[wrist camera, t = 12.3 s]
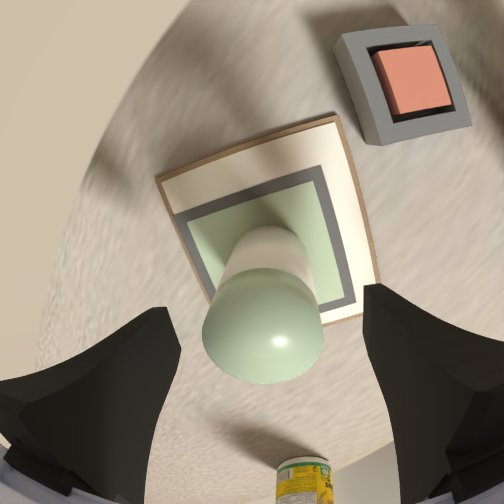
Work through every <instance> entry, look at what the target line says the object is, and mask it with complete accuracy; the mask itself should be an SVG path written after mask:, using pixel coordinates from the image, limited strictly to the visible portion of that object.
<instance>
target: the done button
mask: <svg viewBox="0 0 504 504" xmlns="http://www.w3.org/2000/svg"><path fill="white" fill-rule="evenodd" d="M370 59H371V61H372V64H373V66H374V69H375V71H376V74H377V77H378V79H379V82H380V85H381V88H382V90H383V93H384V96H385V99H386V102H387V105H388V108H389V111H390V115H396V114H403V113H407V112H412V111H417V110H423V109H428V108H433V107H439V106H445V105H451V101H450V97H449V94H448V91H447V88H446V85H445V82H444V79H443V76H442V73H441V70H440V67H439V64H438V62H437V59H436V56H435V54H434V51H433V49H432V46H420V47H410V48H401V49H392V50H385V51H378V52H377V53H376V54H374V55H373V56H372V57H371V58H370Z"/></svg>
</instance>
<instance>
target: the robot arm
mask: <svg viewBox="0 0 504 504" xmlns="http://www.w3.org/2000/svg"><path fill="white" fill-rule="evenodd" d="M363 336H364V341H365V345H366V349H367V353H368V356H369V359H370V362H371V364H372V367H373V370H374V372H375V375H376V377H377V380H378V383H379V385H380V388H381V391H382V394H383V396H384V399H385V402H386V405H387V409H388V412H389V417H390V421H391V426H392V431H393V437H394V443H395V449H396V455H397V463H398V472H399V481H400V497H401V504H504V342H503V341H498V340H495V339H491V338H487V337H484V336H481V335H478V334H475V333H471V332H469V331H466V330H463V329H461V328H459V327H456V326H454V325H452V324H449V323H447V322H445V321H443V320H441V319H439V318H437V317H435V316H433V315H431V314H430V313H428V312H426V311H424V310H422V309H421V308H419V307H417V306H416V305H414V304H412V303H411V302H409V301H408V300H406V299H405V298H403V297H401V296H400V295H398V294H397V293H395V292H394V291H392V290H391V289H389V288H388V287H386V286H384V285H383V284H381V283H376V284H370V285H363ZM180 354H181V346H180V344H179V341H178V338H177V335H176V333H175V330H174V327H173V324H172V321H171V319H170V316H169V313H168V310H167V307H153V308H151V309H149V310H147V311H145V312H143V313H142V314H140V315H139V316H137V317H136V318H134V319H133V320H131V321H130V322H128V323H127V324H126V325H124V326H123V327H121V328H120V329H118V330H117V331H115V332H114V333H113V334H111V335H109V336H108V337H106V338H105V339H103V340H102V341H100V342H99V343H97V344H96V345H94V346H92V347H91V348H89V349H87V350H86V351H84V352H82V353H80V354H78V355H76V356H74V357H72V358H70V359H68V360H66V361H64V362H62V363H59V364H57V365H55V366H52V367H50V368H47V369H45V370H42V371H39V372H36V373H33V374H29V375H26V376H22V377H18V378H13V379H8V380H3V381H0V433H1V434H2V435H3V436H4V437H5V438H6V440H7V441H8V442H9V443H10V444H11V447H10V448H9V449H7V448H6V447H4V446H3V445H2V444H0V504H144V493H145V481H146V473H147V466H148V460H149V454H150V449H151V444H152V440H153V435H154V431H155V427H156V423H157V420H158V417H159V414H160V412H161V409H162V407H163V404H164V402H165V399H166V397H167V394H168V392H169V389H170V387H171V384H172V381H173V379H174V376H175V374H176V371H177V367H178V363H179V358H180Z"/></svg>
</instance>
